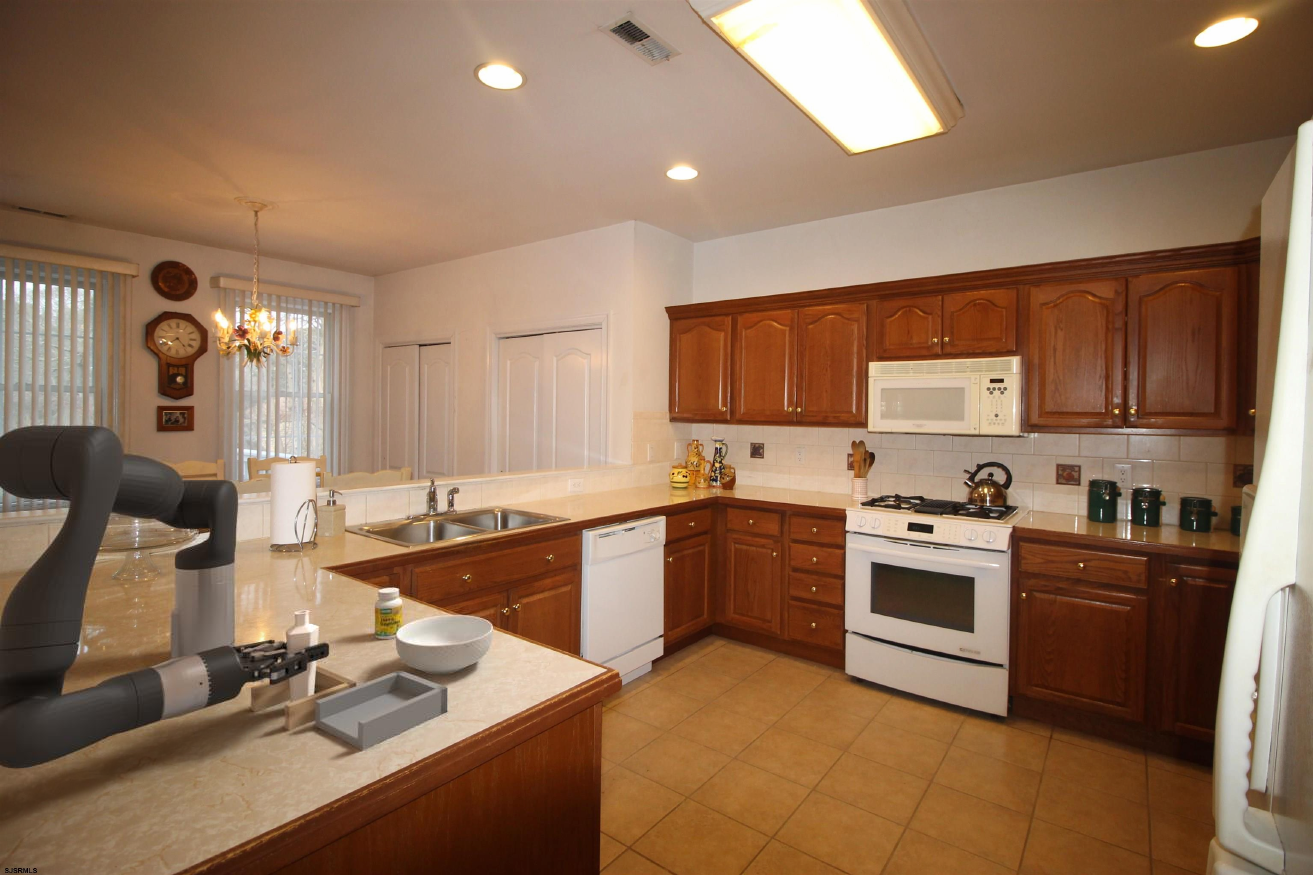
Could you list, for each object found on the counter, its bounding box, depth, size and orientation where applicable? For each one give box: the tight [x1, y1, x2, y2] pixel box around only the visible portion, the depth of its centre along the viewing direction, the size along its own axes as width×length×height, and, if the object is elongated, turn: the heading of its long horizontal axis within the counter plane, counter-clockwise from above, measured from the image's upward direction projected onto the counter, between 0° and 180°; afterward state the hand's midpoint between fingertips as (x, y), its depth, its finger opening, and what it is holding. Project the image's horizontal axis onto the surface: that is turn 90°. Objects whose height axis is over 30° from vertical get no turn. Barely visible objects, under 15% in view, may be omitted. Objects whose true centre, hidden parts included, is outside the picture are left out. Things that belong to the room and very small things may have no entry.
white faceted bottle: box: [285, 609, 320, 703], centre depth 97 cm, size 5×4×15 cm
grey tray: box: [314, 669, 448, 751], centre depth 94 cm, size 14×12×4 cm
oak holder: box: [250, 665, 358, 731], centre depth 98 cm, size 10×11×4 cm
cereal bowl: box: [395, 614, 494, 675], centre depth 115 cm, size 17×17×7 cm
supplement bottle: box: [374, 587, 404, 640], centre depth 130 cm, size 5×5×10 cm
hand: (318, 645), depth 99 cm, fingers closed on white faceted bottle, 4 cm apart
